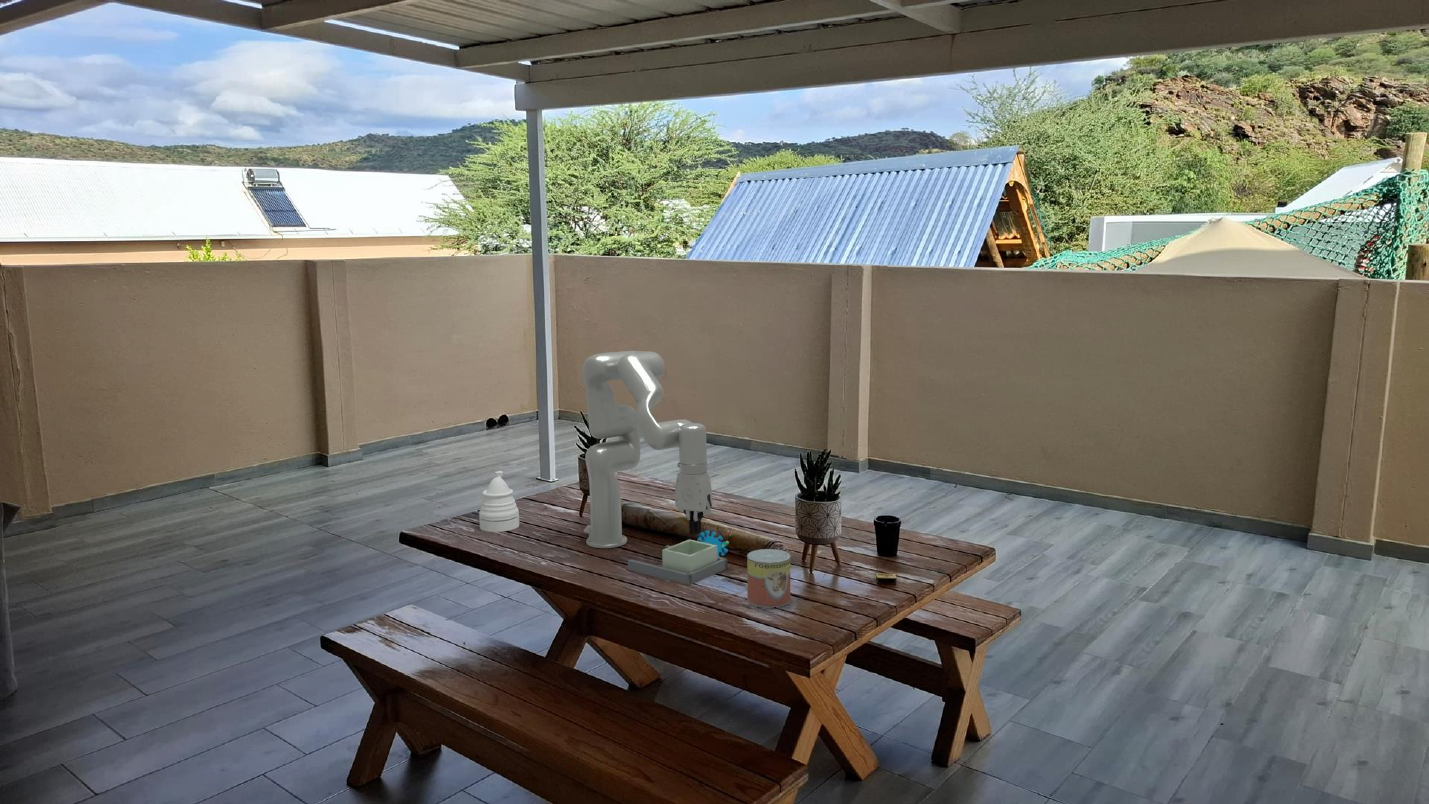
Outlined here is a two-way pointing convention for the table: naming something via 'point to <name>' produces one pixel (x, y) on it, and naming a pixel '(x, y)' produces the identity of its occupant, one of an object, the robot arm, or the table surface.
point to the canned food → (768, 578)
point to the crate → (689, 556)
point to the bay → (677, 575)
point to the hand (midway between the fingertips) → (695, 533)
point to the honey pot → (498, 507)
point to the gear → (714, 542)
